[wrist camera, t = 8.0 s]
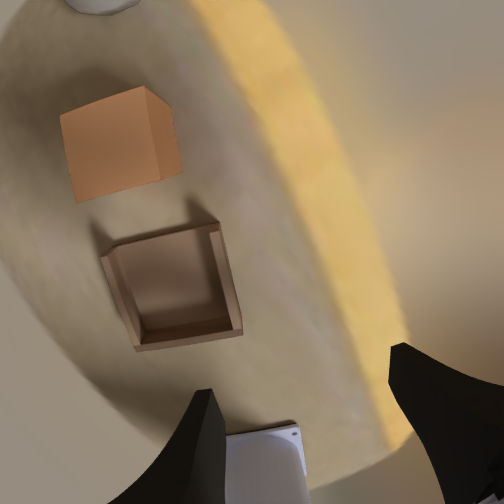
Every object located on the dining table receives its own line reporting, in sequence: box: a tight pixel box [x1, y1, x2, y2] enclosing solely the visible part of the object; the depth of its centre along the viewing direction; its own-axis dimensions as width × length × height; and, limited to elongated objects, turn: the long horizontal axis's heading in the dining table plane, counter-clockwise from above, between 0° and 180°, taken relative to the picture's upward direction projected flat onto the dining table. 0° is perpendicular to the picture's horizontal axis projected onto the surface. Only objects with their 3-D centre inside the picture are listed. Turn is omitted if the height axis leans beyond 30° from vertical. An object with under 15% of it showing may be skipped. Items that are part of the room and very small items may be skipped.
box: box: [100, 222, 243, 352], centre depth 19 cm, size 6×7×2 cm
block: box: [60, 86, 183, 203], centre depth 14 cm, size 4×4×6 cm
